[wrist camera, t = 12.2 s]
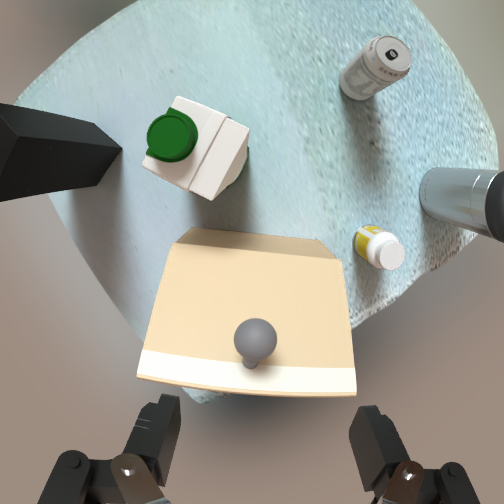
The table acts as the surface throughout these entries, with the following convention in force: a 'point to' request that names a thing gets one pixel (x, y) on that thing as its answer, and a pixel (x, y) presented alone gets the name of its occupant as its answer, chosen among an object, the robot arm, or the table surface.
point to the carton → (256, 242)
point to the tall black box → (49, 152)
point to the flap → (250, 324)
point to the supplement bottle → (378, 247)
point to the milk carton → (196, 148)
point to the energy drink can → (375, 67)
